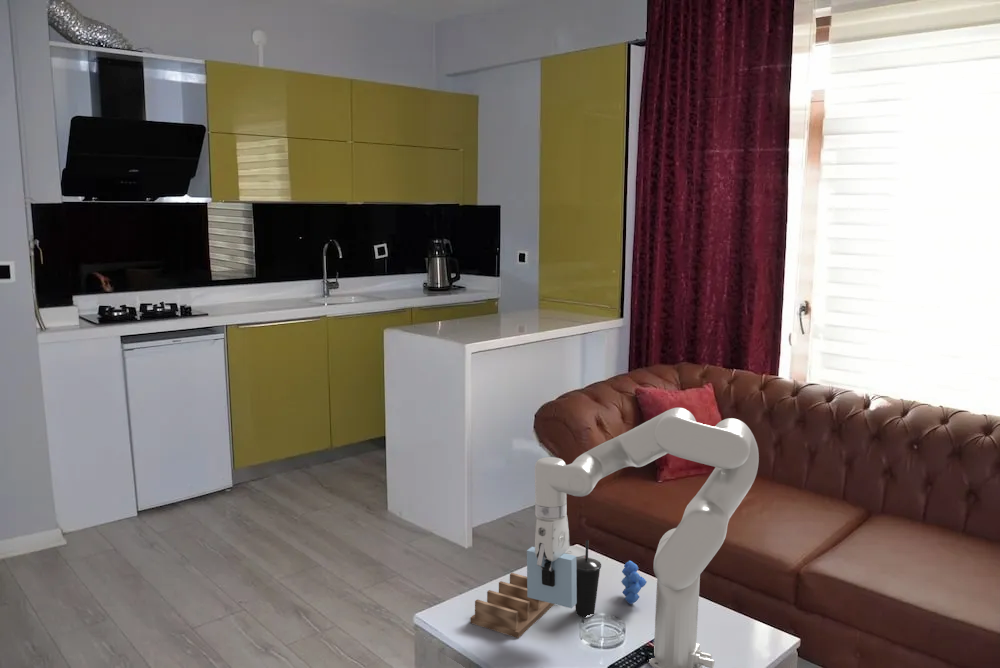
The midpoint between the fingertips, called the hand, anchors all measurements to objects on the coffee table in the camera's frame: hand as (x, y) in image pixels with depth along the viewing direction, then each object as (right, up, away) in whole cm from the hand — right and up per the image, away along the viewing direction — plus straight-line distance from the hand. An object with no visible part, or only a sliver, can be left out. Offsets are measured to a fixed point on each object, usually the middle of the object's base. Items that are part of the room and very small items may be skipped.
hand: (551, 581), depth 181 cm
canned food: (+8, -12, +28) cm, 31 cm away
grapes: (+24, -13, +20) cm, 34 cm away
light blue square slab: (0, -5, +1) cm, 5 cm away
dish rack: (-9, -13, +14) cm, 21 cm away
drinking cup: (+10, -13, +14) cm, 22 cm away
